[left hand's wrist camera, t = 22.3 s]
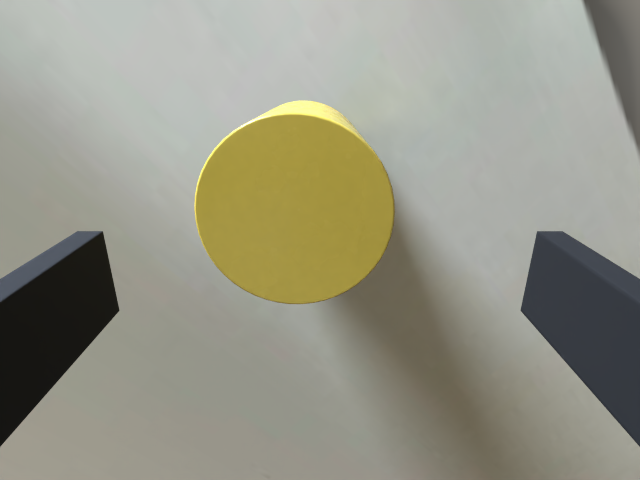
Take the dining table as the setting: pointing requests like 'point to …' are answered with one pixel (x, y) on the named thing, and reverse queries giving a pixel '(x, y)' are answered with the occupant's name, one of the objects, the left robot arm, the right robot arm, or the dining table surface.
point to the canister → (295, 205)
